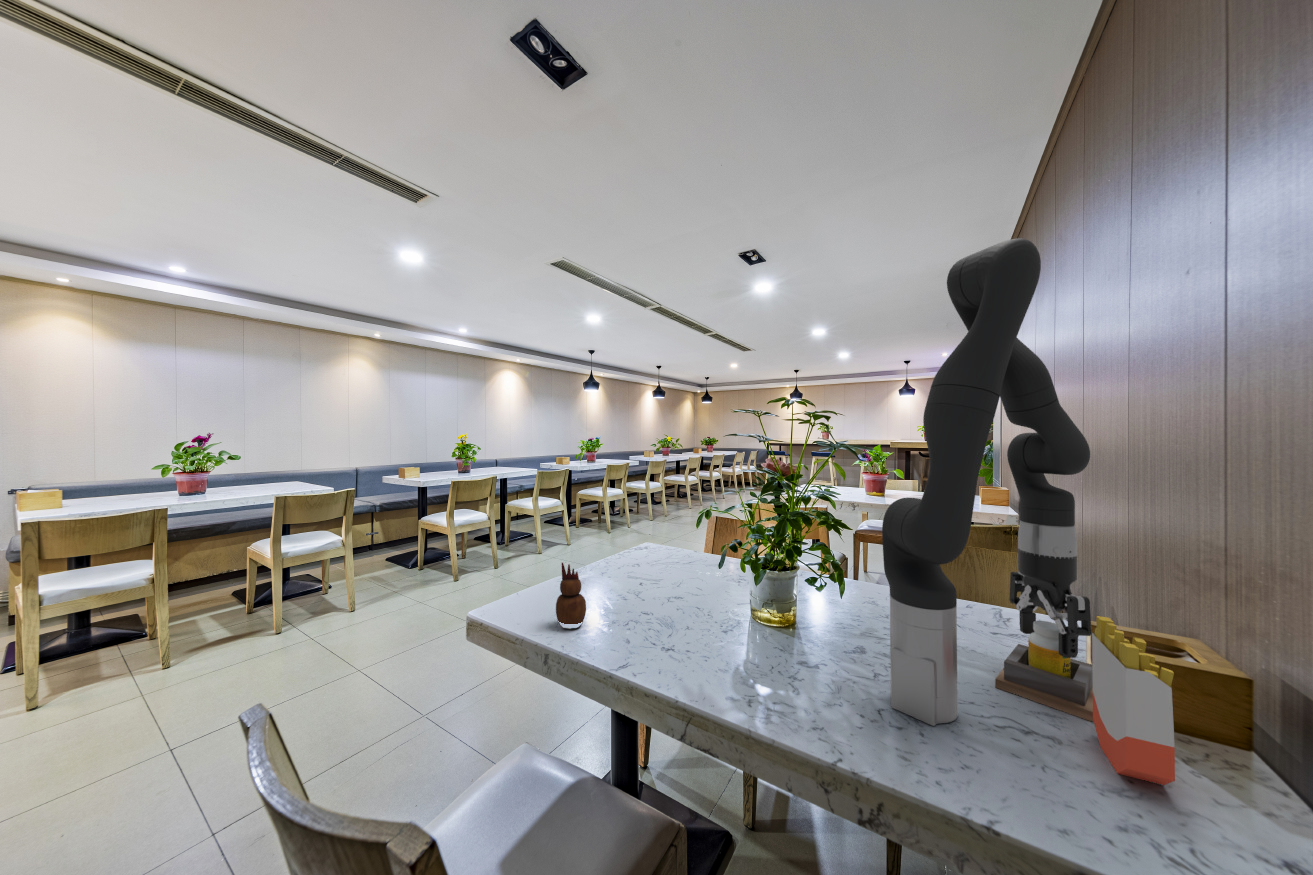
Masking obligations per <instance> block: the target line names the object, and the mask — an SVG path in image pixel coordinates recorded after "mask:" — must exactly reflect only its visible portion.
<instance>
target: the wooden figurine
mask: <svg viewBox="0 0 1313 875" xmlns="http://www.w3.org/2000/svg"><path fill="white" fill-rule="evenodd" d="M559 591H560V593H561V594H559V595H558V597H557V599H556V603H555V615H556V618H557V622H558V621H559V622H561V623H564V624H578V623H581V622H584V620H585V617H586V613H587V604H586V599H585V597H584V596H583V595H582V594H581V593H580V592H581V591H582V582H581V580H580V578H579V573H578V571H576V572H575V568H574V567H573V568H572V569H571V564H570V563H569V564H568V566H567V569H566V568H565V563H564V562H561V580H560V584H559ZM559 622H558V623H559Z"/></svg>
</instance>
